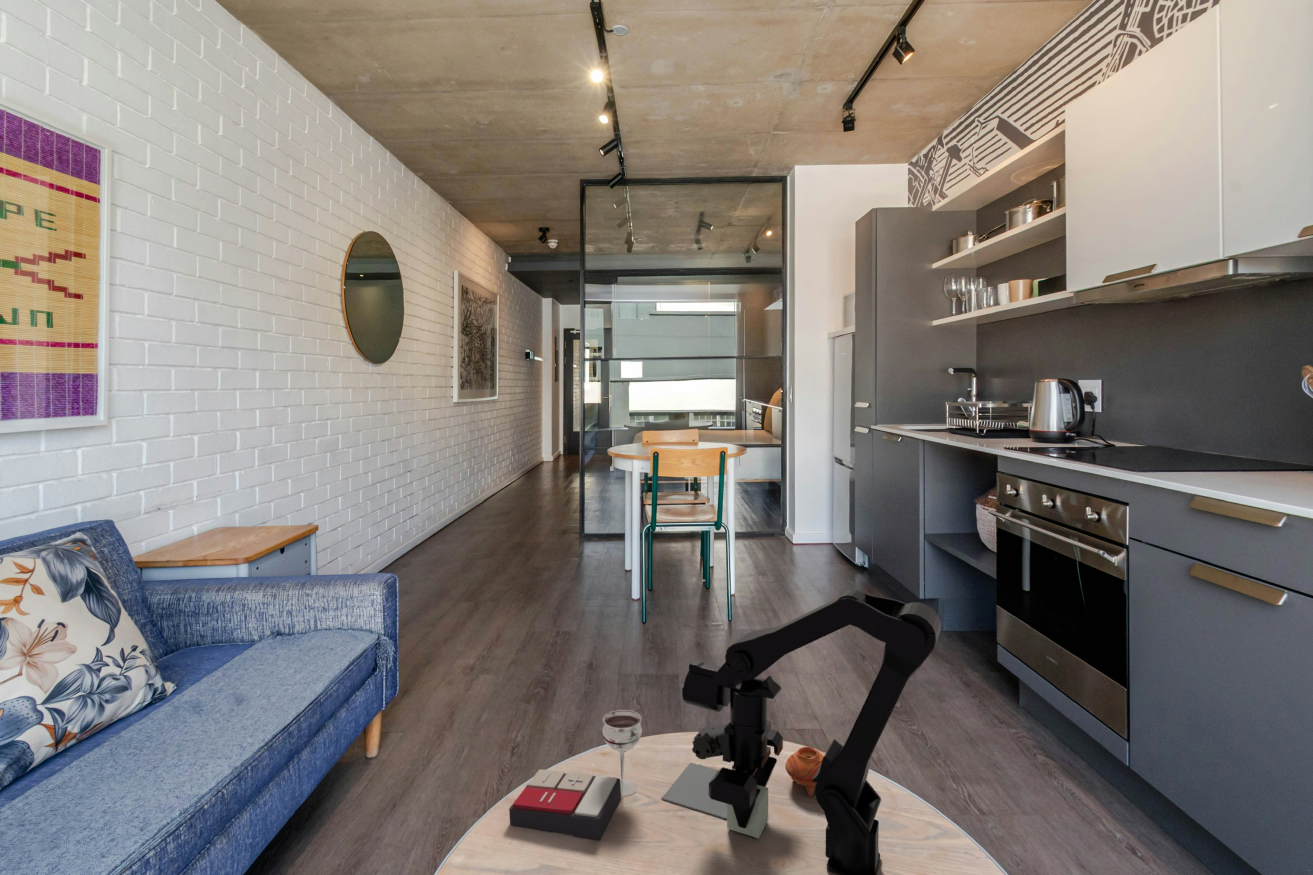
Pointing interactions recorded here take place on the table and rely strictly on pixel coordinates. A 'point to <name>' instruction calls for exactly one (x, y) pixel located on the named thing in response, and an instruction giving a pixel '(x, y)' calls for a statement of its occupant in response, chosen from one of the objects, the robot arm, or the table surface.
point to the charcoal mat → (696, 791)
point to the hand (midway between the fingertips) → (747, 816)
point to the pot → (804, 767)
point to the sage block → (756, 818)
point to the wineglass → (622, 739)
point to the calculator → (567, 804)
